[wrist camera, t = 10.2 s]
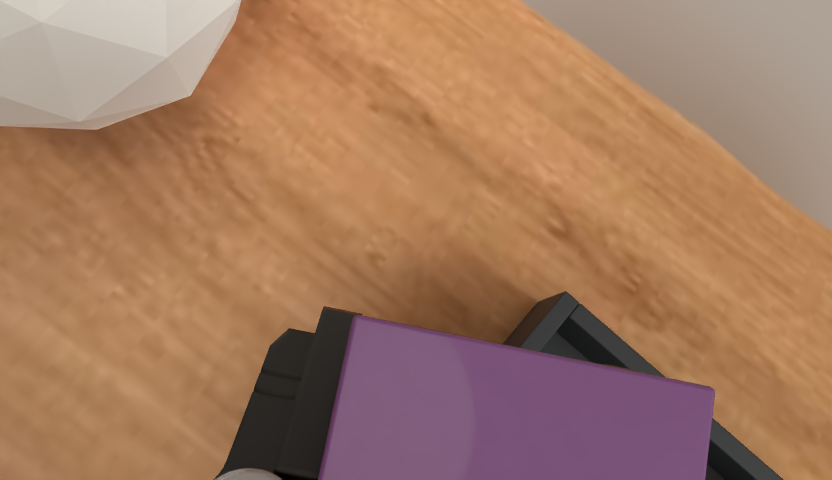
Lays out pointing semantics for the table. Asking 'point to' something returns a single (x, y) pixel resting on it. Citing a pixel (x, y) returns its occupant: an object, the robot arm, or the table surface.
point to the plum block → (504, 414)
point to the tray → (594, 342)
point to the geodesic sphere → (103, 57)
